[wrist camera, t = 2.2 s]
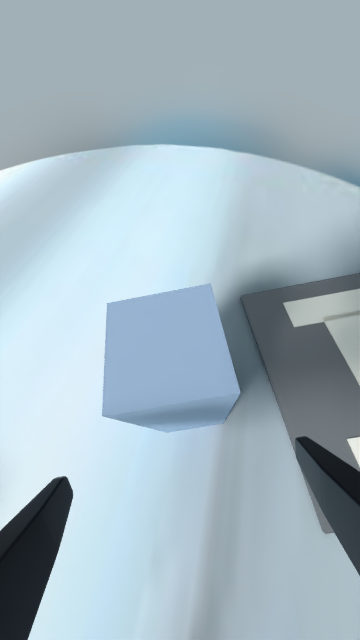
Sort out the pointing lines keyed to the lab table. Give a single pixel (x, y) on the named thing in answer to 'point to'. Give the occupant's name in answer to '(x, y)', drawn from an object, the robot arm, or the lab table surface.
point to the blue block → (168, 361)
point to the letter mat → (313, 362)
